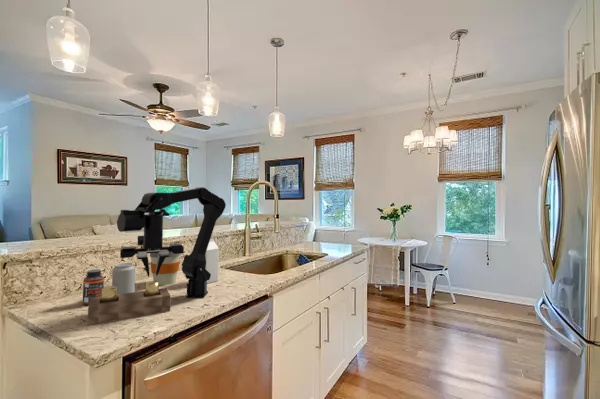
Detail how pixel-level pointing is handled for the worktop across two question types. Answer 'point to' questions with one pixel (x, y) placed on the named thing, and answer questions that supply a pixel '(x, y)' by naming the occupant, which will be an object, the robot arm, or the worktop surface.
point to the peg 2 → (152, 288)
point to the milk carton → (212, 261)
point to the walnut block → (127, 306)
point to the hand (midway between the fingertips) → (152, 275)
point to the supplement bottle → (92, 285)
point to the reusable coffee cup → (165, 268)
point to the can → (124, 278)
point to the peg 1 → (109, 294)
